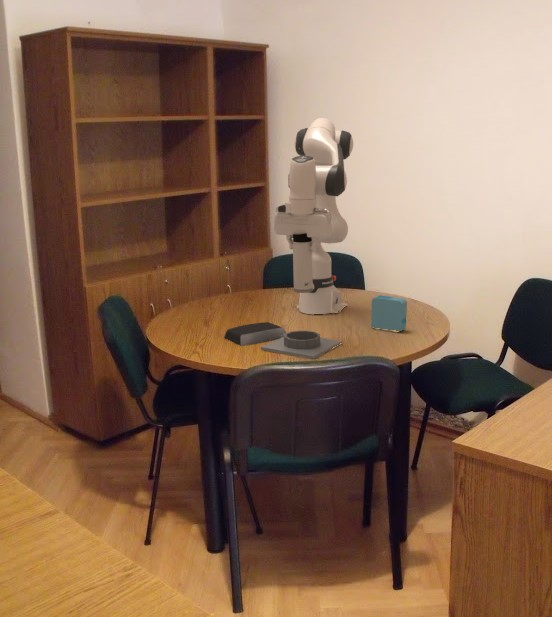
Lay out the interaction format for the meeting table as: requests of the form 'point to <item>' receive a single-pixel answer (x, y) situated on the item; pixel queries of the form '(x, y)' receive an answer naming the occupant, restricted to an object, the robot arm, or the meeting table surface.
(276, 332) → the external hard drive
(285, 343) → the mug holder
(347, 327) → the meeting table surface
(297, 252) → the travel mug
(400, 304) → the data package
